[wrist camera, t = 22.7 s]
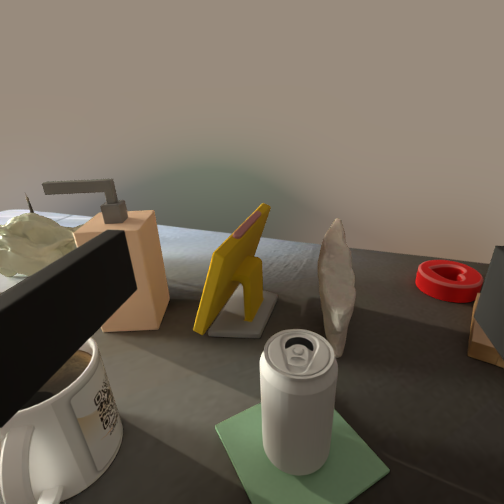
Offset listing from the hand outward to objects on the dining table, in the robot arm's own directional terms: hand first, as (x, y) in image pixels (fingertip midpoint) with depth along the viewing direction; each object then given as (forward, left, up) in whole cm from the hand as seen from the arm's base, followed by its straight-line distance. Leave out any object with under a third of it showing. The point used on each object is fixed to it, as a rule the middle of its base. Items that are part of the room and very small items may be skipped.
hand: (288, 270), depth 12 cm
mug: (+17, +14, -25) cm, 34 cm away
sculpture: (+19, -21, -25) cm, 38 cm away
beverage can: (+7, -6, -25) cm, 27 cm away
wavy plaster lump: (+64, +17, -25) cm, 71 cm away
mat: (+7, -6, -25) cm, 27 cm away
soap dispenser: (+39, +5, -25) cm, 47 cm away
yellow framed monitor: (+29, -12, -25) cm, 41 cm away
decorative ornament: (+18, -46, -25) cm, 55 cm away
